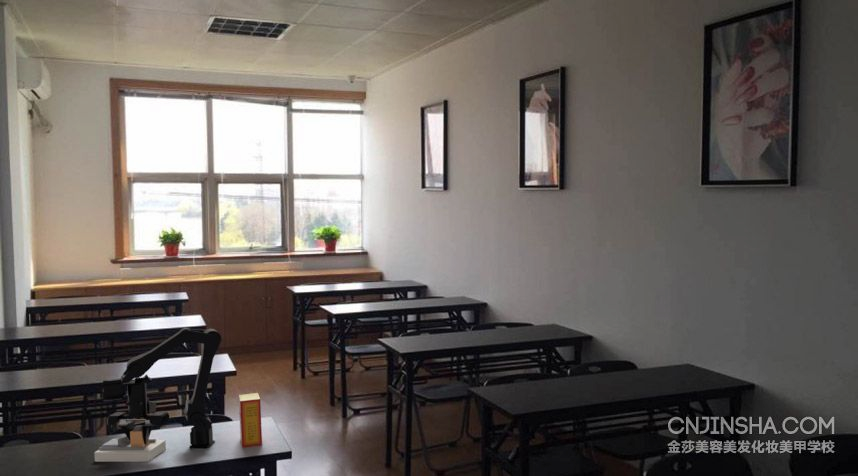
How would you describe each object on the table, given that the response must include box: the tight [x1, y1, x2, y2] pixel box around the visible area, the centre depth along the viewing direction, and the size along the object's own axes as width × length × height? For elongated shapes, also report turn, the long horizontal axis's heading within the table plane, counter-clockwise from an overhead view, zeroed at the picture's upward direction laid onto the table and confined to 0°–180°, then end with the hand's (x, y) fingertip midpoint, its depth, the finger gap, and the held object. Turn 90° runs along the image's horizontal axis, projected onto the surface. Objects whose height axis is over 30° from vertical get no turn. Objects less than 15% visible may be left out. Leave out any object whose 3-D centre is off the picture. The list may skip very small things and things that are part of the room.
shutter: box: [101, 434, 130, 447], centre depth 232 cm, size 6×6×3 cm
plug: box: [130, 424, 149, 448], centre depth 231 cm, size 4×4×7 cm
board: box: [93, 438, 167, 463], centre depth 231 cm, size 18×12×4 cm, turn 84°
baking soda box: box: [238, 392, 263, 449], centre depth 241 cm, size 10×6×16 cm
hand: (139, 444), depth 231 cm, fingers closed on plug, 4 cm apart
